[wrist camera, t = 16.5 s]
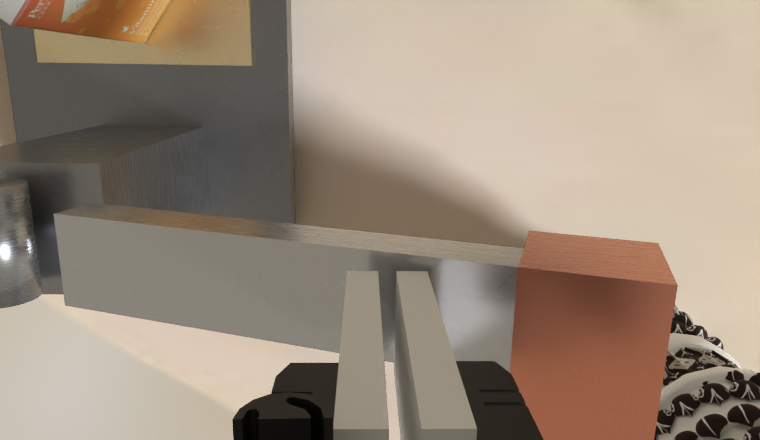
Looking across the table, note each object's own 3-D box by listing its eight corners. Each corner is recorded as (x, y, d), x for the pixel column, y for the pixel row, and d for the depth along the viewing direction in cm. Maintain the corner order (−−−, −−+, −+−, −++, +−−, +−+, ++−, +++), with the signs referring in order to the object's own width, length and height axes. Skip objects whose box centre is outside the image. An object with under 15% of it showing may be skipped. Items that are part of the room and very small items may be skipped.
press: (-4, -164, 32) (-347, -378, 17) (287, -156, 33) (216, -359, 17) (46, 222, 38) (-176, 329, 22) (295, 224, 38) (246, 331, 23)
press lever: (-5, 176, 21) (-109, 194, 18) (656, 238, 14) (677, 285, 11) (11, 282, 22) (-85, 317, 19) (635, 385, 15) (650, 465, 12)
